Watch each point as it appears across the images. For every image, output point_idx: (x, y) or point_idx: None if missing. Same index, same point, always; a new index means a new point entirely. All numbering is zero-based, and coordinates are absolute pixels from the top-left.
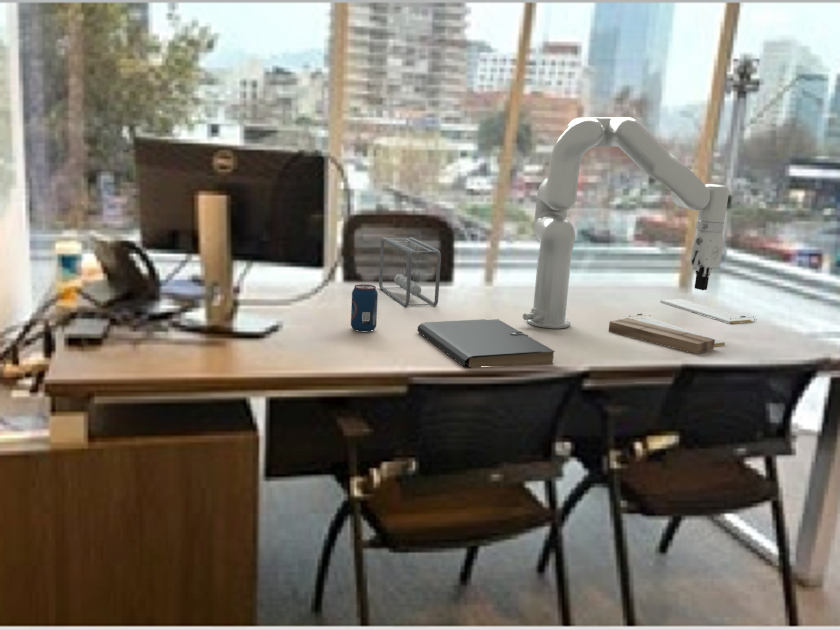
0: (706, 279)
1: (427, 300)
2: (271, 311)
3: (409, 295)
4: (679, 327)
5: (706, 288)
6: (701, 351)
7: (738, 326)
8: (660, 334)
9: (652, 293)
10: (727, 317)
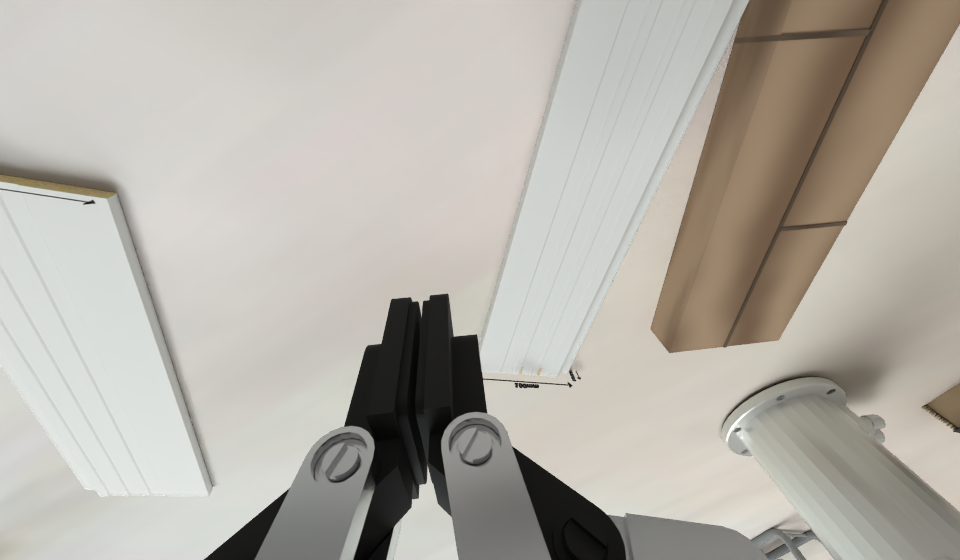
0: (431, 377)
1: None
2: None
3: None
4: (520, 230)
5: (403, 302)
6: None
7: (85, 128)
8: (912, 105)
9: (153, 545)
10: (57, 256)
